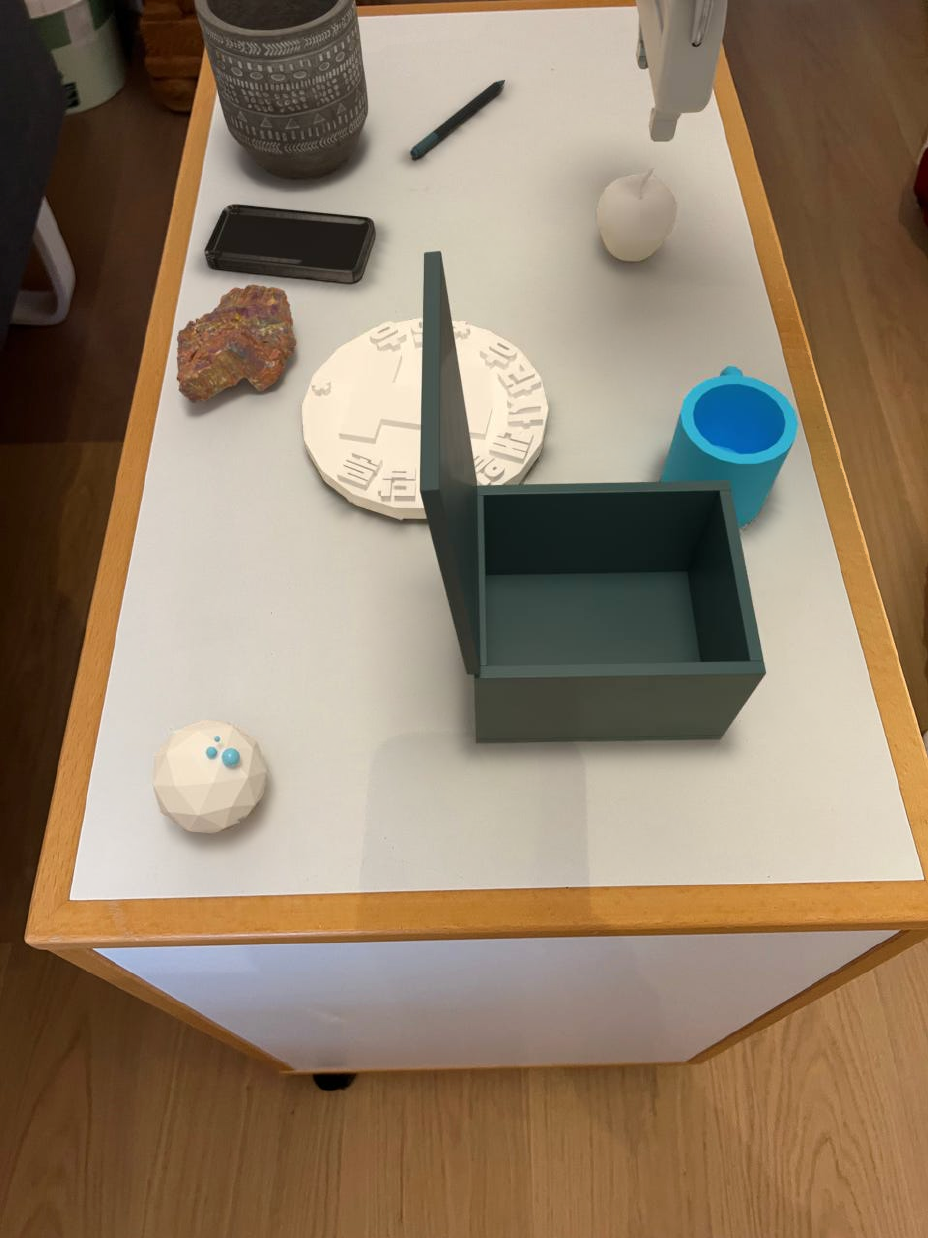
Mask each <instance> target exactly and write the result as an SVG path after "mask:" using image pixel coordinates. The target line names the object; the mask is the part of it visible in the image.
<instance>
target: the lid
mask: <svg viewBox="0 0 928 1238" xmlns="http://www.w3.org/2000/svg"><path fill="white" fill-rule="evenodd" d="M422 289H423V290H422V291H423V292H422V293H423V294H422V300H423V301H422V318H423V336H422V389H421V442H420V494H421V498H422V502H423V506H424V510H425V514H426V518H427V519H426V522H427V525H428V529H429V533H430V537H431V540H432V541H431V542H432V545H433V548H434V552H435V556H436V560H437V564H438V567H439V573H440V576H441V580H442V583H443V588H444V591H445V595H446V598H447V603H448V606H449V610H450V614H451V618H452V622H453V626H454V630H455V634H456V637H457V638H456V639H457V642H458V646H459V650H460V654H461V658H462V661H463V665H464V669H465V673H466V675H467V676H472V675H473V676H474V675H475V674H481V661H480V610H479V559H478V508H477V477H476V471H475V465H474V458H473V452H472V446H471V439H470V433H469V427H468V420H467V414H466V407H465V401H464V395H463V388H462V382H461V376H460V369H459V363H458V356H457V350H456V344H455V337H454V331H453V325H452V320H453V319H452V312H451V307H450V302H449V301H450V300H449V294H448V287H447V281H446V274H445V267H444V261H443V256H442V252H441V250H436V251H435V250H433V251H425V252H424V253H423V288H422Z"/></svg>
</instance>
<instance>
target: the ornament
mask: <svg viewBox="0 0 928 1238" xmlns="http://www.w3.org/2000/svg"><path fill="white" fill-rule="evenodd" d="M152 770H153V772H152V788H153V791H154V795H155V798H156V801H157V804H158V807H159V810H160V811H159V812H160V813H161V814H163V816H165V817H167V818H168V819H170V820H171V821H172V822H174V823H175V824H177V825H179V826H180V827H181V828H183V829H184V830H186V831H188V832H194V833H196V832H197V833H209V834H215V833H217V832H221V831H224V830H229V829H231V828H233V827H235V826H237V825H239V824H240V823H242V822H244V821H245V820H246V819H247V818H248V817H249V816H250V815H251V814H253V812H254V810H256V807H257V806H258V805H259V803H260V802H261V799H262V798H263V796H264V794H265V789H266V788H265V787H266V782H267V773H268V770H267V767H266V764H265V761H264V758H263V754H262V751H261V747H260V745H259V742H258V740H257V739H255V738H254V737H252V736H251V735H249V734H247V733H245V732H244V731H242V730H241V729H240V728H238V727H236V726H235V725H233V724H231V723H228V722H222V721H218V720H212V719H209V718H205V719H202V720H200V721H197V722H195V723H192V724H188V725H187V726H185V727H182V728H178V729H175V730H174V731H173V733H172V734H171V735H170V736H169V738H168V739H167V740H166V741H165V743H164V744H163V745H162V746H161V748H160V749H159V750H158V751H157V752H156V754H155V755H154V758H153V769H152Z"/></svg>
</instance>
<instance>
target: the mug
mask: <svg viewBox="0 0 928 1238" xmlns="http://www.w3.org/2000/svg"><path fill="white" fill-rule="evenodd" d="M798 427H799V422H798V418H797V413H796V410H795V408H794V407H793V405H792V404H791V402H790V401H789V399H788V398H787V397H786V396H785V395H784V394H783V393H782V392H780V391H779V390H778V389H777V388H776V387H775V386H774V385H771V384H769V383H767V382H765V381H763V380H760V379H758V378H755V377H750V376H745V375H743V371H742V370H741V369H740V368H738V366H735V365H727V366H725V367H724V368H723V369H722V370H721V371H720V373H719V375H718V376H715V377H712V378H708V379H705V380H703V381H702V382H700V383H698V384H697V385H695V386H693V387H692V388H691V390H690V391H689V392H688V394H686V396H685V397H684V399H683V401H682V405H681V407H680V412H679V415H678V418H677V422H676V426H675V429H674V432H673V435H672V439H671V443H670V446H669V449H668V453H667V455H666V459H665V463H664V466H663V469H662V474H661V478H660V481H659V482H671V481H721V480H729V481H730V485H731V491H732V495H733V501H734V506H735V511H736V516H737V522H738V527H739V528H740V527H744V526H745V525H747V524H748V523H749V522H751V521H752V520H754V519H755V518H756V517H757V515H758V514H759V513H760V512H761V509H762V508H763V507H764V505H765V502H766V500H767V499H768V496H769V494H770V492H771V490H772V488H773V486H774V483H775V481H776V479H777V478H778V475H779V473H780V471H781V469H782V467H783V465H784V464H785V461H786V459H787V458H788V455H789V453H790V451H791V449H792V446H793V445H794V442H795V440H796V439H797V433H798Z"/></svg>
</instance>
